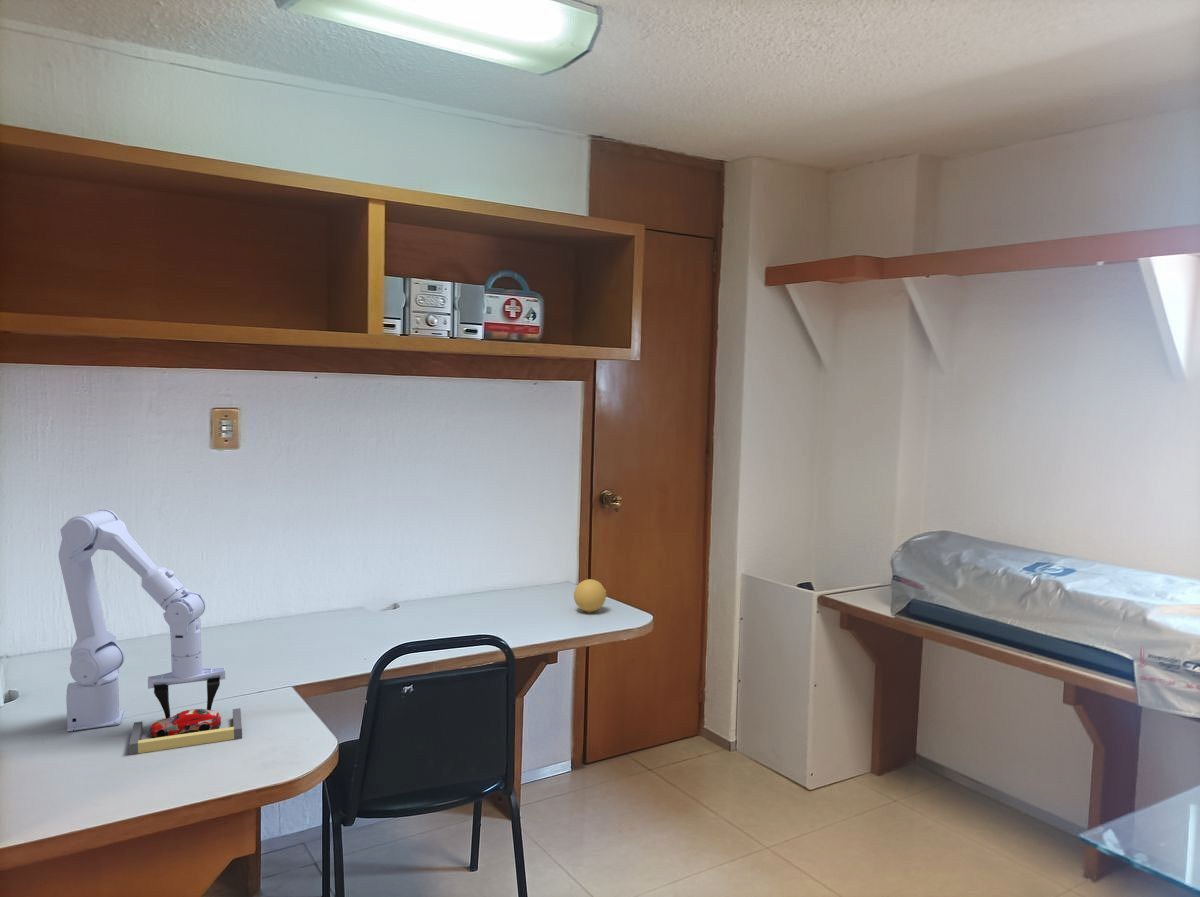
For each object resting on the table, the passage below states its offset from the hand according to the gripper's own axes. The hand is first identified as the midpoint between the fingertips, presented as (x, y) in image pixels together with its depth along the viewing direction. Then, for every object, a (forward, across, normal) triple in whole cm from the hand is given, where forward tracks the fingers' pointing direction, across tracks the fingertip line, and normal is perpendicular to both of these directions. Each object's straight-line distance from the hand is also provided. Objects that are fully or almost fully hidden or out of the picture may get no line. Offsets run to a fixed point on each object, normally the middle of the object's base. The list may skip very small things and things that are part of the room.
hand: (188, 716), depth 183 cm
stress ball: (+2, -111, -47) cm, 121 cm away
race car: (+2, 0, +4) cm, 4 cm away
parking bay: (+1, 0, +7) cm, 7 cm away
